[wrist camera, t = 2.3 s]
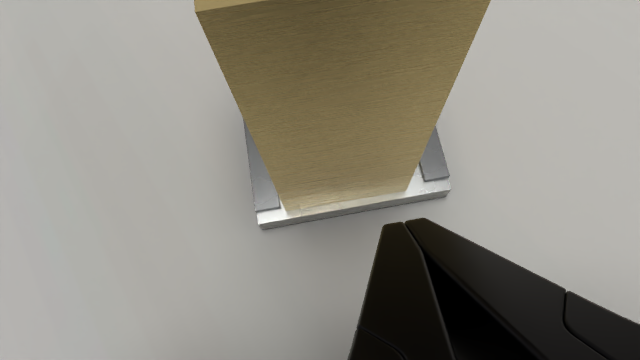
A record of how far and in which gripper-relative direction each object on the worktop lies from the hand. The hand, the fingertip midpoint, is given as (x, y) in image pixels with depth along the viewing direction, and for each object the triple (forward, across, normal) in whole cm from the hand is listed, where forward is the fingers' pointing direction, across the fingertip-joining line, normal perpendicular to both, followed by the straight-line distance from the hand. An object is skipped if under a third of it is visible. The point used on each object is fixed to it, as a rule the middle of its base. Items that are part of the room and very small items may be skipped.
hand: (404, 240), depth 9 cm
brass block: (+11, 0, +2) cm, 11 cm away
